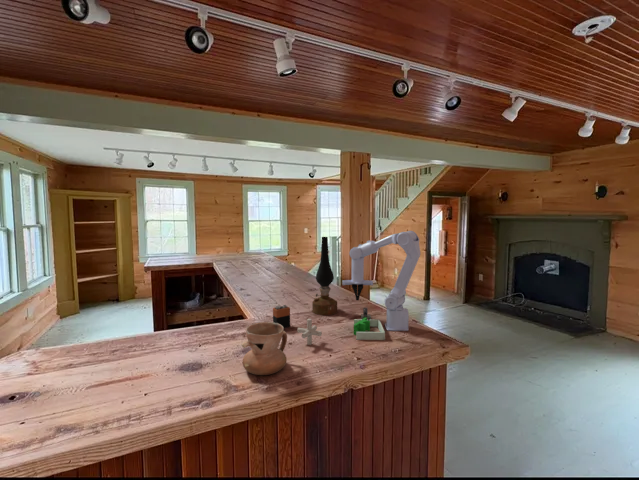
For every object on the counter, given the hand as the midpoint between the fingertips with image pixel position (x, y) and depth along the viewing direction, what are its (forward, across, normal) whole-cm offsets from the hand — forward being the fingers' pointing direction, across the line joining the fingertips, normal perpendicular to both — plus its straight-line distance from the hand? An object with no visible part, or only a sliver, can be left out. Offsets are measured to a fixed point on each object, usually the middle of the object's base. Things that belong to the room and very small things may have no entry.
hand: (357, 299), depth 154 cm
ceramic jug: (+10, -32, -50) cm, 61 cm away
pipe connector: (+10, -20, -30) cm, 37 cm away
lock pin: (+8, +4, -5) cm, 11 cm away
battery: (+10, -35, -12) cm, 38 cm away
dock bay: (+10, +4, -16) cm, 19 cm away
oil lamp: (+10, -16, +12) cm, 23 cm away
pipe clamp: (+10, +2, -15) cm, 18 cm away
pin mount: (+10, +4, -5) cm, 12 cm away
